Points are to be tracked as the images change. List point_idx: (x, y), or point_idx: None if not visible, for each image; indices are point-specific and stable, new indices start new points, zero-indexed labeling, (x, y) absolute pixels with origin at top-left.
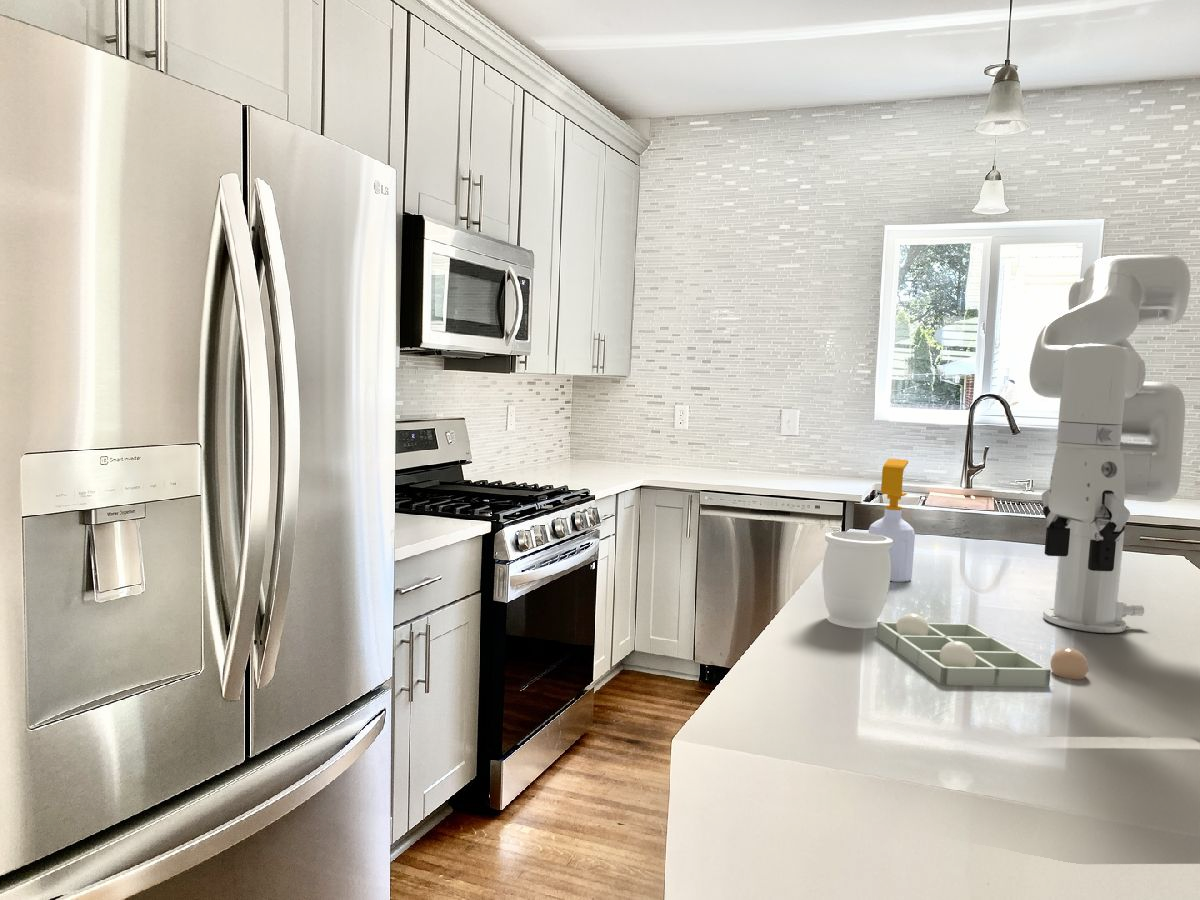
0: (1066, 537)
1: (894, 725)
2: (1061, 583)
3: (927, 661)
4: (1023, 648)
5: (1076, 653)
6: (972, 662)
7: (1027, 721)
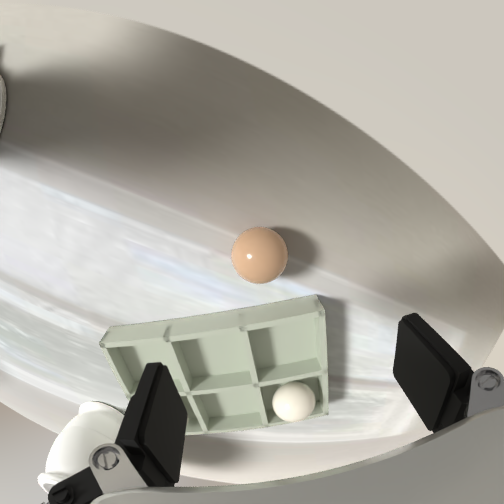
0: (156, 421)
1: (391, 421)
2: None
3: None
4: (97, 251)
5: (276, 259)
6: (312, 392)
7: (395, 339)
